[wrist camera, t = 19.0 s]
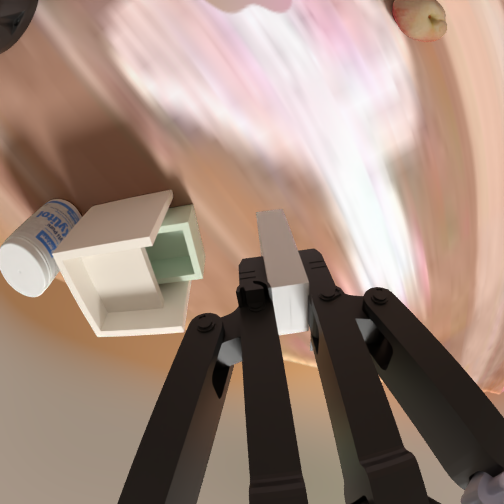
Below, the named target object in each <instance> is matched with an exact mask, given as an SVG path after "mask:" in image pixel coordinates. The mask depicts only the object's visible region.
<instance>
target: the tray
mask: <svg viewBox="0 0 504 504" xmlns="http://www.w3.org/2000/svg"><path fill="white" fill-rule="evenodd" d="M145 249H146V252H147V254H148V257H149V260H150V263H151V266H152V269H153V271H154V274H155V277H156V279H157V282H158V284H164V283H172V282H180V281H188V280H196V279H203V273H204V264H205V253H204V249H203V244H202V240H201V236H200V232H199V228H198V223H197V219H196V215H195V210H194V206H193V204H191V205H185V206H179V207H173V208H168V210H167V213H166V215H165V217H164V220H163V222H162V224H161V227H160V229H159V232H158V234H157V236H156V239H155V241H154V244H153V246H149V247H145Z"/></svg>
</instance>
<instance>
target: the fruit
mask: <svg viewBox="0 0 504 504" xmlns="http://www.w3.org/2000/svg"><path fill="white" fill-rule="evenodd" d="M392 12H393V16H394V19H395V21H396V23H397V25H398V26H399V28H400V29H401V31H402V32H403V33H404V34H406V35H407V36H408V37H410V38H412V39H414V40H418V41H423V42H431V41H436V40H439V39H440V38H441V37H442V36H443V35H444V34H445V33H446V31H447V24H446V20H445V16H446V15H445V11H444V9H443V7H442V6H441V5H440V4H439V3H438V2H437V1H436V0H394V2H393V7H392Z"/></svg>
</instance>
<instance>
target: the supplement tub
mask: <svg viewBox="0 0 504 504" xmlns="http://www.w3.org/2000/svg"><path fill="white" fill-rule="evenodd" d="M81 218H82V216H81V214H80V213H79V211H78V210H77V208H76V207H75V206H74V205H72V204H71V203H70V202H68V201H66V200H62V199H53V200H50V201H48V202H47V203H46V204H44V205H43V206H42V207H41V208H40V209H38V210H37V211H36V212H35V213H34V214H33V215H32V216H30V217H29V218H28V219H27V220H26V221H25V222H24V223H23V224H22V225H21V226H20V227H18V228H17V229H16V230H15V231H14V232H13V233H12V234H11V235H10V236H9V237H8V238H7V239H6V240H5V242H4V243H3V244H2V246H1V247H0V270H1V272H2V274H3V276H4V278H5V279H6V281H7V282H8V283H9V284H10V285H11V286H12V287H13V288H14V289H15V290H16V291H18V292H19V293H21V294H23V295H25V296H29V297H37V296H40V295H41V294H42V293H43V292H44V290H45V289H47V287H48V286H49V285H50V283H51V282H52V281H53V279H54V278H55V276H56V275H57V273H58V272H59V271H60V270H59V268H58V265H57V263H56V261H55V259H54V257H53V255H52V253H53V252H54V250H55V249H56V248H57V247H58V245H59V244H60V243H61V242H62V240H63V239H64V238H65V237H66V236H67V234H68V233H69V232H70V231H71V230H72V228H73V227H74V226H75V225H76V224H77V223H78V221H79V220H80V219H81Z"/></svg>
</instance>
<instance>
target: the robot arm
mask: <svg viewBox="0 0 504 504" xmlns="http://www.w3.org/2000/svg"><path fill="white" fill-rule="evenodd" d="M37 3H38V0H0V54H1V53H3V52H5V51H6V50H8V49H9V48H10V47H11V46H13V45H14V44H15V43H16V42H17V41H18V39H19V38H20V37H21V36H22V34H23V33H24V32H25V30H26V29H27V27H28V25H29V23H30V21H31V20H32V17H33V15H34V13H35V10H36V7H37ZM256 216H257V225H258V233H259V241H260V249H261V257H254V258H246V259H242V261H241V263H240V264H239V283H240V285H239V286H238V287H237V290H236V294H237V299H238V304H239V307H238V308H237V309H236V310H235V311H234V312H232V313H231V314H229V315H226V316H224V317H221V318H220V317H219V316H218V315H216V314H213V313H204V314H201V315H198V316H196V317H195V318H194V319H192V321H191V322H190V324H189V326H188V328H187V331H186V333H185V335H184V338H183V340H182V342H181V345H180V347H179V349H178V352H177V354H176V357H175V359H174V361H173V364H172V366H171V369H170V371H169V373H168V376H167V378H166V381H165V383H164V385H163V388H162V390H161V393H160V395H159V397H158V400H157V402H156V405H155V407H154V410H153V412H152V415H151V417H150V420H149V422H148V425H147V427H146V430H145V433H144V435H143V437H142V440H141V443H140V445H139V448H138V450H137V453H136V456H135V458H134V461H133V463H132V466H131V469H130V471H129V474H128V477H127V480H126V482H125V485H124V488H123V490H122V493H121V495H120V498H119V501H118V504H196V503H197V500H198V496H199V492H200V489H201V485H202V482H203V478H204V475H205V471H206V467H207V463H208V460H209V456H210V453H211V449H212V446H213V441H214V438H215V435H216V431H217V427H218V423H219V420H220V416H221V412H222V409H223V405H224V401H225V397H226V393H227V390H228V386H229V382H230V379H231V375H232V371H233V367H234V364H236V363H239V362H241V361H242V365H243V383H244V398H245V414H246V428H247V443H248V457H249V470H250V486H249V504H308V500H307V493H306V488H305V483H304V479H303V476H302V471H301V464H300V458H299V452H298V446H297V440H296V434H295V428H294V422H293V415H292V409H291V404H290V398H289V392H288V386H287V380H286V375H285V369H284V363H283V357H282V351H281V345H280V340H279V335H284V334H291V333H298V332H304V331H309V327H310V330H311V343H310V351H314V355H315V359H316V362H317V366H318V370H319V374H320V378H321V382H322V386H323V390H324V395H325V399H326V403H327V407H328V411H329V415H330V419H331V423H332V428H333V432H334V437H335V441H336V445H337V450H338V455H339V459H340V464H341V468H342V473H343V478H344V495H345V502H346V504H441V503H439V502H437V501H435V500H434V499H432V498H430V497H428V496H427V492H426V489H425V485H424V482H423V479H422V475H421V472H420V469H419V466H418V463H417V460H416V458H415V456H414V455H413V454H412V453H411V452H409V451H407V450H406V449H405V448H404V446H403V443H402V440H401V437H400V434H399V431H398V428H397V425H396V422H395V419H394V416H393V414H392V411H391V408H390V405H389V402H388V400H387V397H386V394H385V391H384V389H383V386H382V383H381V381H380V378H379V376H380V377H381V379H382V380H383V382H384V383H385V384H386V386H387V387H388V388H389V390H390V391H391V393H392V394H393V396H394V397H395V398H396V400H397V401H398V403H399V404H400V405H401V407H402V408H403V410H404V411H405V413H406V414H407V415H408V417H409V418H410V420H411V421H412V423H413V424H414V425H415V427H416V428H417V430H418V431H419V433H420V434H421V436H422V437H423V438H424V440H425V441H426V443H427V444H428V446H429V447H430V449H431V450H432V452H433V453H434V455H435V456H436V458H437V459H438V460H439V462H440V463H441V465H442V466H443V468H444V469H445V471H446V472H447V473H448V475H449V476H450V477H451V479H452V480H453V481H455V483H456V484H457V485H459V486H460V487H461V488H462V489H464V490H465V491H464V494H463V495H462V498H461V503H462V504H504V418H503V416H502V415H501V414H500V413H499V411H498V410H497V409H496V407H495V406H494V405H493V404H492V402H491V401H490V400H489V399H488V398H487V396H486V395H485V394H484V393H483V391H482V390H481V389H480V388H479V387H478V385H477V384H476V383H475V382H474V381H473V379H472V378H471V377H470V376H469V375H468V374H467V372H466V371H465V370H464V369H463V368H462V367H461V365H460V364H459V363H458V362H457V361H456V360H455V359H454V358H453V356H452V355H451V354H450V353H449V352H448V351H447V350H446V349H445V348H444V346H443V345H442V344H441V343H440V342H439V341H438V340H437V339H436V338H435V337H434V336H433V334H432V333H431V332H430V331H429V330H428V329H427V328H426V327H425V326H424V325H423V324H422V323H421V322H420V321H419V320H418V319H417V318H416V316H415V315H414V314H413V313H412V312H411V311H410V310H409V309H408V308H407V307H406V306H405V305H404V304H403V303H402V302H401V301H400V300H399V299H398V298H397V297H396V296H395V295H394V294H393V293H392V292H390V291H389V290H388V289H385V288H380V287H375V288H370V289H369V290H367V291H366V292H365V294H364V296H352V295H347V294H344V292H343V291H342V289H341V288H339V287H337V286H335V283H334V281H333V279H332V276H331V274H330V272H329V270H328V268H327V265H326V263H325V262H324V259H323V257H322V254H321V253H320V252H318V251H317V250H316V249H307V250H300V251H298V249H297V247H296V244H295V241H294V238H293V236H292V233H291V230H290V227H289V225H288V222H287V219H286V217H285V214H284V211H283V209H278V210H270V211H262V212H256ZM378 375H379V376H378Z"/></svg>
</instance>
